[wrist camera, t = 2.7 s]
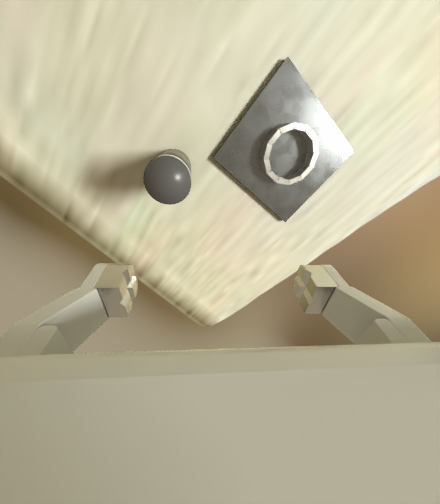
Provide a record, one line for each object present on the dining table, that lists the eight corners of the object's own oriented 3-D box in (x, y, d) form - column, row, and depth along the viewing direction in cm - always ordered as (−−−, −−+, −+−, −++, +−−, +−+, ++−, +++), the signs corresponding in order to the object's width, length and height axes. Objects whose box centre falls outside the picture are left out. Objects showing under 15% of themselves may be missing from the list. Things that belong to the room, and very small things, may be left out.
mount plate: (212, 157, 33) (214, 159, 31) (285, 59, 28) (294, 51, 26) (283, 220, 40) (289, 226, 38) (350, 150, 35) (363, 152, 33)
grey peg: (151, 169, 33) (134, 185, 23) (169, 141, 31) (159, 144, 21) (179, 189, 35) (174, 213, 25) (197, 164, 33) (200, 177, 23)
